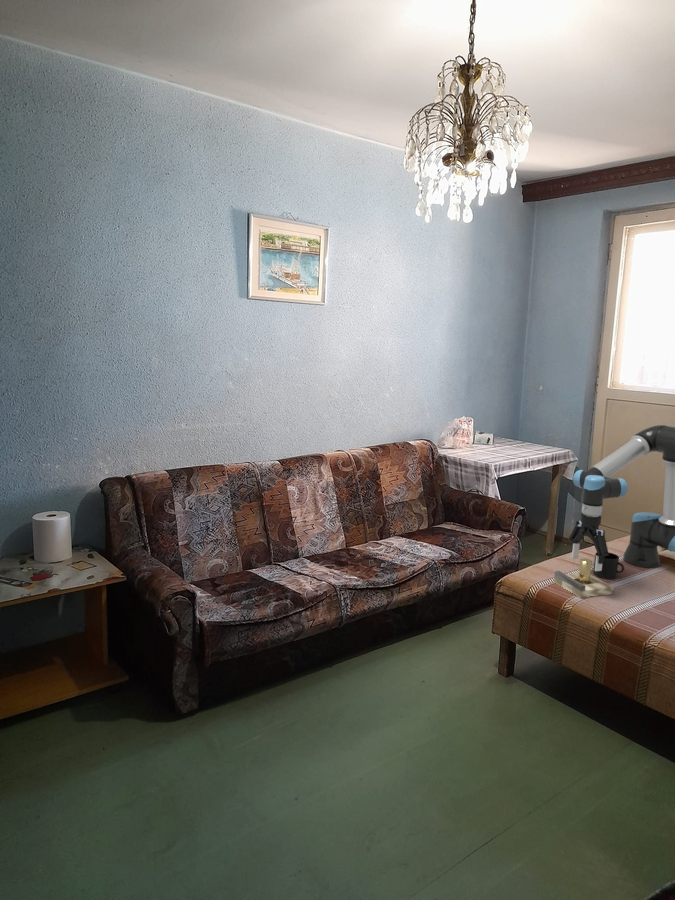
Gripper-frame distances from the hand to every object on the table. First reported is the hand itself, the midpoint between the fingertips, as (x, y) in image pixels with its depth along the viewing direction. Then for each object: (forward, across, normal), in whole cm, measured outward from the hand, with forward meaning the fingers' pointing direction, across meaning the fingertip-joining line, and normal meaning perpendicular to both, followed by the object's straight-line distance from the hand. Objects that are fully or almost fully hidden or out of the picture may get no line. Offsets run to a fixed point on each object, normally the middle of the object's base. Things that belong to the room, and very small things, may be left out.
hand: (586, 564), depth 258 cm
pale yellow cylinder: (+10, 0, -1) cm, 10 cm away
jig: (+10, 0, -1) cm, 10 cm away
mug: (+11, -8, +19) cm, 23 cm away
